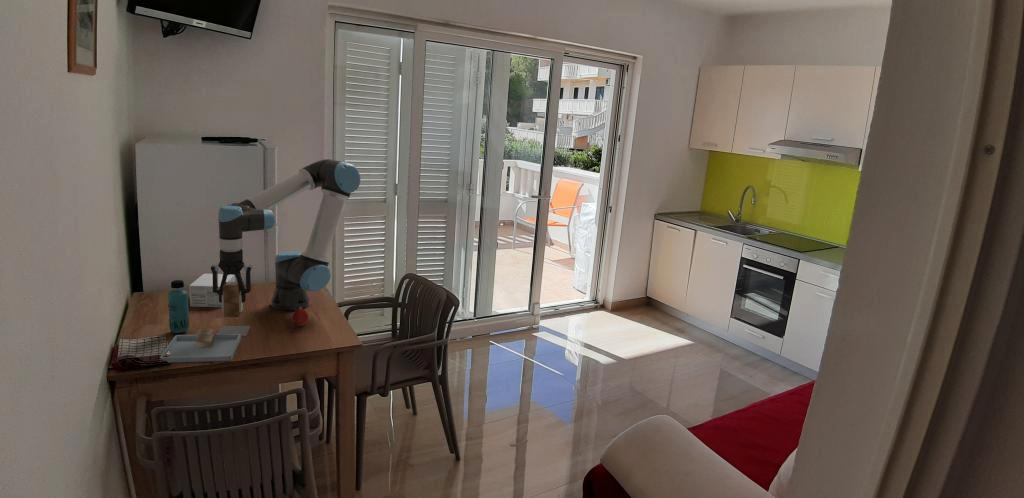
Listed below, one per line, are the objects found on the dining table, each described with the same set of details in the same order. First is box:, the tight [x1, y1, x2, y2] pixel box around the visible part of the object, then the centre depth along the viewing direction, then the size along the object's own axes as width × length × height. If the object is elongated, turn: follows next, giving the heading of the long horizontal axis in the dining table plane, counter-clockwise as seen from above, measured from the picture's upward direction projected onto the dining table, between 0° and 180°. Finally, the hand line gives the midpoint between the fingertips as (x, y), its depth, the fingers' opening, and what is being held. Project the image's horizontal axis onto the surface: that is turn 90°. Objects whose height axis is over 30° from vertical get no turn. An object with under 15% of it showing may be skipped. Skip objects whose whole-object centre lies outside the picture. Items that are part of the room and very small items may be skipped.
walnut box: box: [223, 281, 242, 318], centre depth 217 cm, size 5×5×12 cm
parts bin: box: [159, 333, 242, 364], centre depth 203 cm, size 21×19×2 cm
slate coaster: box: [217, 325, 251, 338], centre depth 220 cm, size 10×10×1 cm
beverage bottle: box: [167, 279, 190, 334], centre depth 213 cm, size 6×7×20 cm
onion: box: [292, 307, 309, 328], centre depth 230 cm, size 6×6×8 cm
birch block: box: [195, 328, 215, 348], centre depth 206 cm, size 4×4×5 cm
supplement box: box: [188, 273, 236, 308], centre depth 250 cm, size 17×13×9 cm
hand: (232, 310), depth 218 cm, fingers closed on walnut box, 5 cm apart
